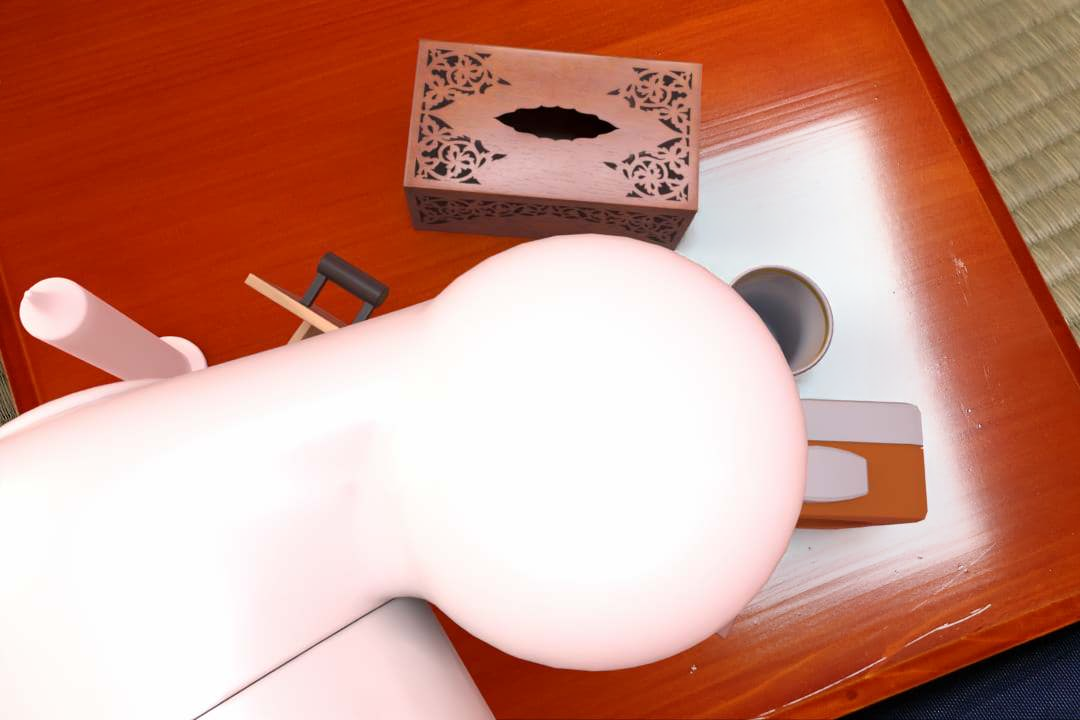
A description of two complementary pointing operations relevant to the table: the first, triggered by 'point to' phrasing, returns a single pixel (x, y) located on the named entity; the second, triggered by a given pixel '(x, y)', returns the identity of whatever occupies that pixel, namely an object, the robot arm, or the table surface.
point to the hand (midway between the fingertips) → (534, 515)
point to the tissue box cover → (552, 143)
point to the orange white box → (863, 465)
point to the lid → (327, 270)
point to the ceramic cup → (789, 312)
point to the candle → (103, 333)
